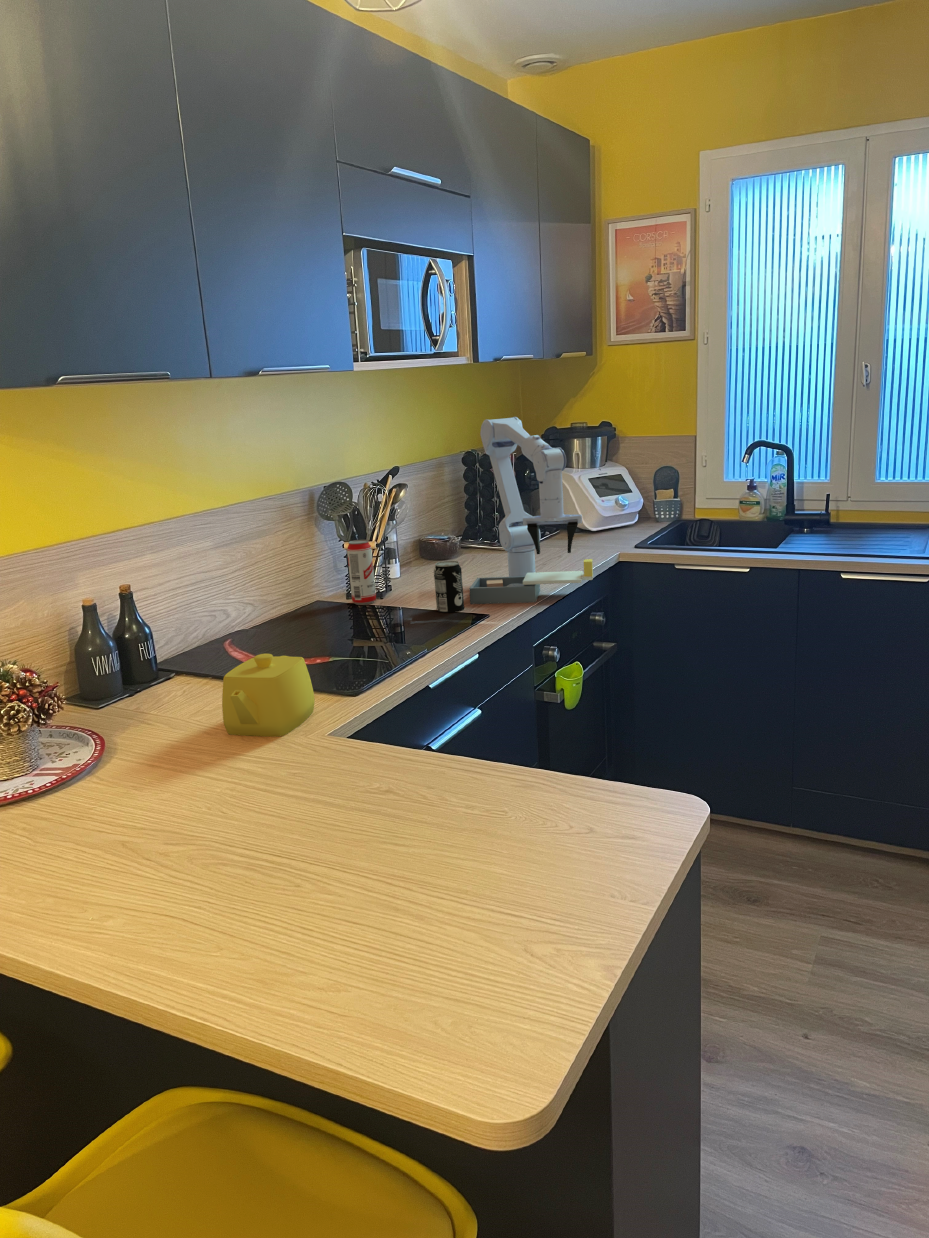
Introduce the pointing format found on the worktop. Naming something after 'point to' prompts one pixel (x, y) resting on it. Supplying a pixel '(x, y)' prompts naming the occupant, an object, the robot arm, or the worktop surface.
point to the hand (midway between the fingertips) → (553, 552)
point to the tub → (503, 591)
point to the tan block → (494, 583)
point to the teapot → (267, 696)
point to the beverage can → (448, 587)
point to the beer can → (361, 572)
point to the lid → (561, 576)
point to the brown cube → (515, 585)
